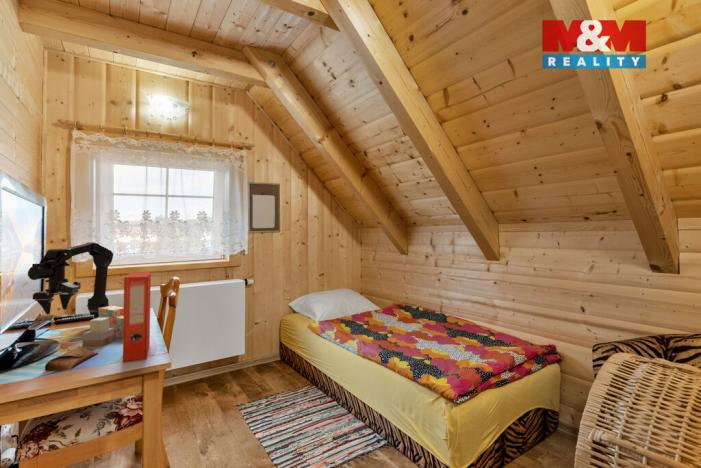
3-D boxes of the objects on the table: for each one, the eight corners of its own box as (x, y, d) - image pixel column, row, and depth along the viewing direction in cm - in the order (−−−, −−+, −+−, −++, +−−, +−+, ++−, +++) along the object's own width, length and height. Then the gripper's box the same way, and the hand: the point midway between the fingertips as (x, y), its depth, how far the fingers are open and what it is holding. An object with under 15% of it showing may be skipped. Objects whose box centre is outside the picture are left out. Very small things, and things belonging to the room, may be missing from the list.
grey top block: (95, 334, 157) (95, 328, 157) (113, 334, 157) (113, 328, 157) (82, 340, 149) (82, 333, 149) (101, 340, 149) (101, 333, 149)
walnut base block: (95, 341, 157) (95, 334, 157) (113, 341, 157) (113, 334, 157) (82, 347, 149) (82, 340, 149) (101, 347, 149) (101, 340, 149)
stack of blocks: (137, 335, 165) (138, 309, 165) (124, 339, 160) (124, 312, 160) (112, 329, 175) (112, 305, 175) (98, 332, 169) (98, 307, 169)
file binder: (150, 346, 150) (150, 271, 150) (147, 359, 135) (148, 276, 134) (128, 348, 146) (128, 272, 146) (122, 362, 131) (123, 277, 131)
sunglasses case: (70, 370, 123) (60, 354, 123) (51, 381, 123) (41, 365, 122) (100, 352, 141) (91, 338, 141) (84, 362, 140) (74, 348, 140)
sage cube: (98, 328, 156) (98, 317, 156) (109, 328, 156) (109, 317, 156) (89, 331, 151) (90, 320, 151) (101, 331, 151) (101, 320, 151)
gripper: (58, 279, 147) (58, 316, 147) (90, 274, 166) (89, 307, 166) (31, 279, 146) (31, 316, 146) (65, 274, 165) (65, 307, 165)
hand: (56, 311), depth 156 cm, fingers open, 9 cm apart
